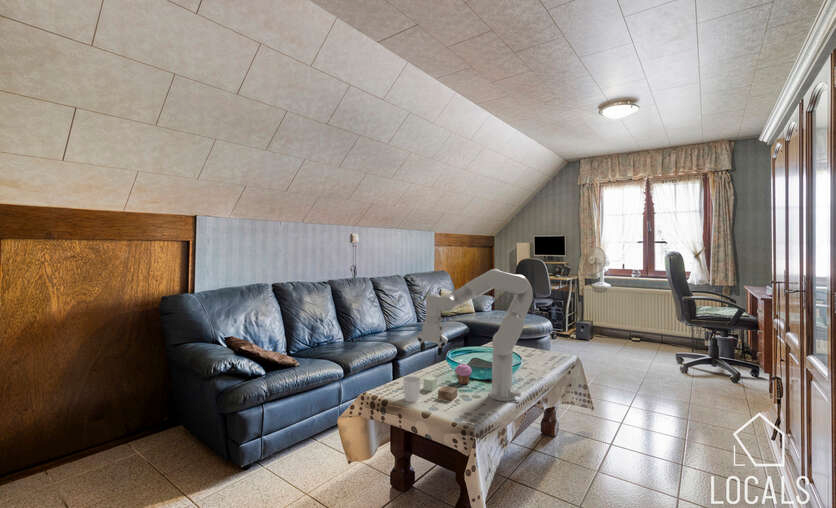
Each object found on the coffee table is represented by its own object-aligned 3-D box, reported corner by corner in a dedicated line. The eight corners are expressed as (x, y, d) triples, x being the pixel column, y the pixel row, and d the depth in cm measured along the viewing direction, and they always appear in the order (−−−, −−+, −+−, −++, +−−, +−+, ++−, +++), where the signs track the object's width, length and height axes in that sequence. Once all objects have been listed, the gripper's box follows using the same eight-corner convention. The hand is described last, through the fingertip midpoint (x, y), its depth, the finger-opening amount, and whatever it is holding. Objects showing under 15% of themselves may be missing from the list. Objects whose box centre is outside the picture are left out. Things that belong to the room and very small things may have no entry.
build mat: (469, 397, 187) (469, 396, 187) (461, 406, 177) (461, 405, 176) (435, 391, 195) (435, 390, 195) (425, 399, 185) (425, 398, 185)
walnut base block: (457, 396, 187) (457, 388, 187) (451, 401, 181) (451, 392, 181) (443, 393, 191) (443, 385, 191) (437, 398, 184) (438, 390, 184)
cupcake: (458, 386, 202) (458, 367, 202) (452, 381, 211) (452, 362, 211) (474, 385, 205) (474, 366, 205) (467, 379, 213) (467, 361, 213)
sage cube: (436, 389, 198) (436, 377, 198) (432, 392, 193) (432, 380, 193) (427, 387, 200) (427, 376, 200) (423, 391, 196) (423, 379, 195)
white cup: (418, 404, 179) (418, 382, 179) (401, 402, 180) (401, 381, 180) (421, 397, 186) (421, 376, 186) (405, 396, 188) (405, 375, 188)
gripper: (451, 320, 196) (449, 354, 196) (421, 316, 204) (419, 348, 204) (445, 322, 189) (443, 358, 189) (414, 317, 198) (412, 351, 198)
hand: (431, 353), depth 197 cm, fingers open, 9 cm apart
